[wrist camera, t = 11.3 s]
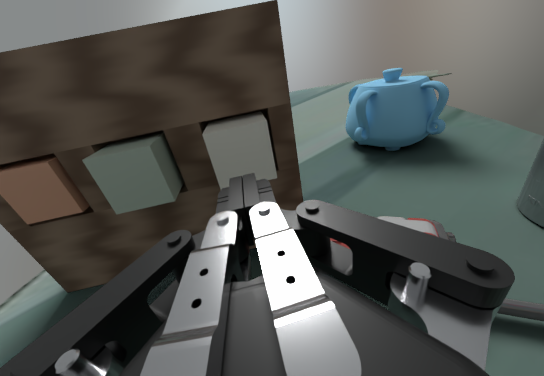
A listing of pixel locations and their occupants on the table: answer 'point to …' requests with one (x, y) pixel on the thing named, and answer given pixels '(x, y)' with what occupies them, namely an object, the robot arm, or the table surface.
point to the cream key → (240, 148)
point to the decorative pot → (395, 110)
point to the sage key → (136, 173)
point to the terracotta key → (40, 189)
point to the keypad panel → (141, 126)
